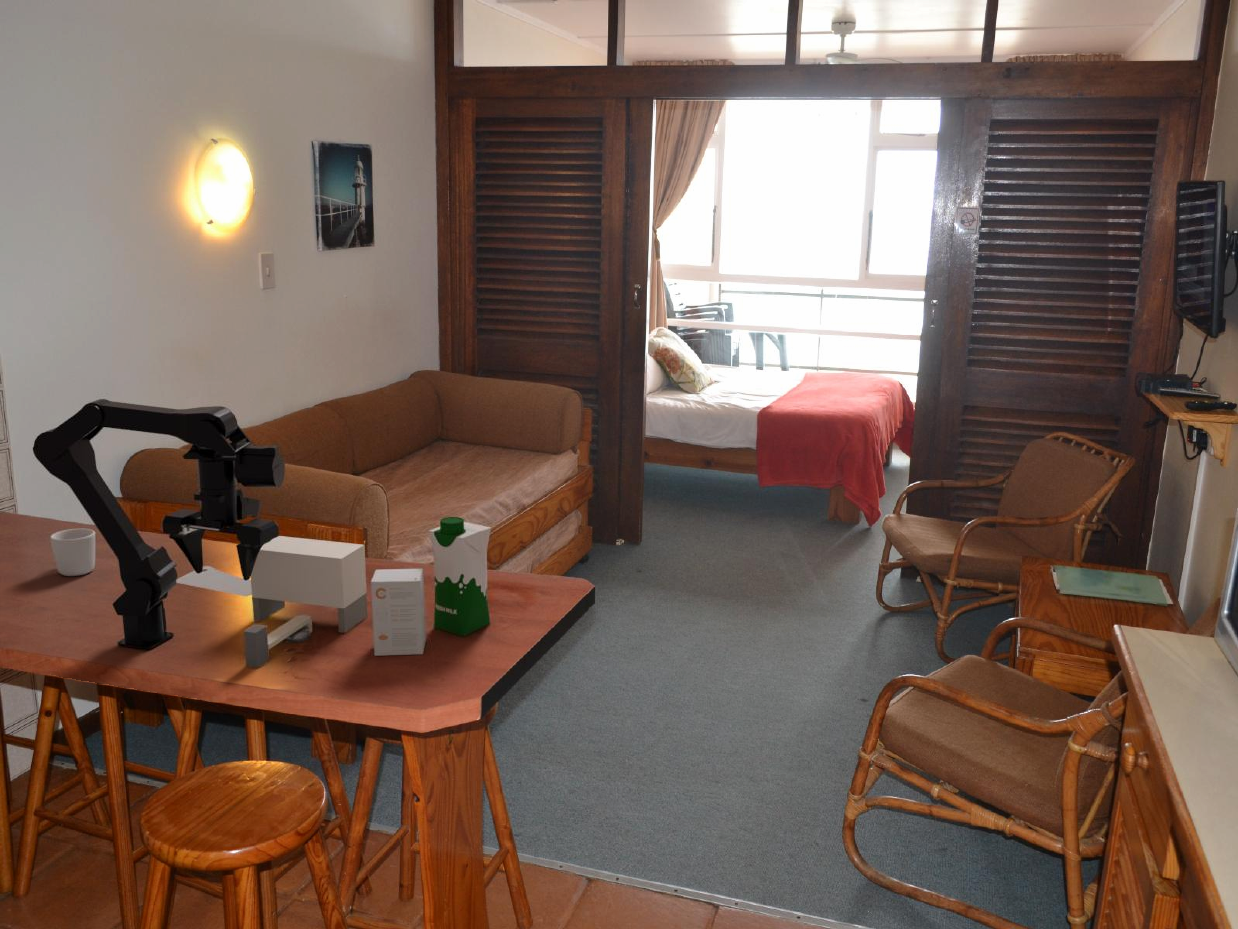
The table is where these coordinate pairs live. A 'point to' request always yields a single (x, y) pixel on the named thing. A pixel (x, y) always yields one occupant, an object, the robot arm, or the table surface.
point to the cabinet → (310, 578)
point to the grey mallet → (269, 639)
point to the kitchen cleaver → (217, 581)
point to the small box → (398, 612)
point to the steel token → (299, 635)
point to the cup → (74, 551)
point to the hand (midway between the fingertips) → (223, 576)
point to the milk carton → (460, 575)
